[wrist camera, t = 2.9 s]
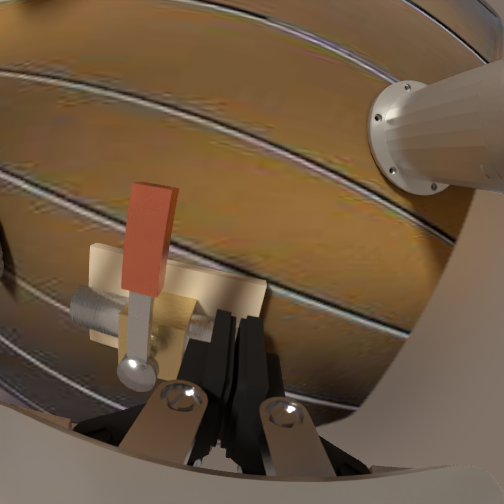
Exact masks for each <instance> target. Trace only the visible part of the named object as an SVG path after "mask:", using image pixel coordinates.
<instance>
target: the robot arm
mask: <svg viewBox="0 0 504 504" xmlns="http://www.w3.org/2000/svg"><path fill="white" fill-rule="evenodd" d="M375 117H376V118H377V121H376V120H375ZM367 133H368V142H369V146H370V149H371V153H372V155H373V157H374V160H375V162H376V164H377V166H378V167H379V169H380V170H381V172H382V173H383V174H384V175H385V177H386V178H387V179H388V180H389V181H390V182H391V183H393V184H394V185H395V186H397V187H398V188H400V189H402V190H404V191H406V192H408V193H412V194H417V195H433V194H436V193H439V192H441V191H443V190H444V189H446V188H447V187H448V186H449V185H456V186H463V187H469V188H475V189H481V190H486V191H493V192H497V193H503V194H504V59H501V60H498V61H495V62H492V63H489V64H486V65H483V66H480V67H477V68H474V69H471V70H468V71H466V72H463V73H460V74H457V75H455V76H452V77H449V78H447V79H444V80H441V81H439V82H436V83H433V84H431V85H426V84H424V83H421V82H417V81H401V82H397V83H394V84H392V85H390V86H388V87H387V88H386V89H384V90H383V91H382V92H380V94H379V95H378V96H377V97H376V99H375V100H374V102H373V104H372V106H371V108H370V112H369V116H368V124H367ZM389 169H391V173H390V172H389ZM231 313H232V312H229V311H224V310H219V309H217V312H216V317H215V322H214V327H213V332H212V337H211V341H210V342H206V341H201V340H197V339H192V338H189V341H188V344H187V347H186V350H185V353H184V356H183V359H182V362H181V366H180V369H179V372H178V375H177V378H176V380H169V381H166V382H163V383H161V384H160V385H159V386H158V387H157V388H156V389H155V391H154V393H153V394H152V396H151V397H150V399H149V400H148V402H147V403H145V404H142V405H138V406H135V407H132V408H128V409H125V410H121V411H118V412H114V413H111V414H107V415H103V416H100V417H96V418H92V419H88V420H85V421H82V422H80V423H78V424H74V423H71V420H70V419H67V418H63V417H58V416H54V415H50V414H46V413H43V412H39V411H35V410H32V409H28V408H25V407H21V406H18V405H14V404H8V403H5V402H2V401H0V504H504V491H503V489H502V488H501V487H500V485H499V484H498V483H497V481H496V480H495V479H494V478H493V476H492V475H491V474H490V473H488V472H487V471H485V470H484V469H481V468H478V467H474V466H467V465H439V466H429V467H422V468H397V467H384V466H371V467H370V468H367V466H366V465H364V464H363V463H362V462H361V461H359V460H357V459H356V458H354V457H352V456H350V455H349V454H347V453H346V452H344V451H342V450H341V449H339V448H338V447H336V446H334V445H333V444H331V443H330V442H328V441H326V440H325V439H323V438H322V437H320V436H319V435H318V434H317V431H316V429H315V427H314V424H313V422H312V420H311V418H310V415H309V413H308V411H307V410H306V408H305V407H304V406H302V405H301V404H300V403H298V402H297V401H295V400H292V399H289V398H286V397H285V392H284V386H283V380H282V374H281V367H280V361H279V356H278V355H277V354H271V353H266V351H265V341H264V331H263V320H262V318H260V317H255V316H249V315H247V317H246V319H245V318H241V319H240V323H239V327H238V332H237V336H236V340H235V334H236V319H237V317H235V316H231ZM222 421H223V422H222ZM221 424H222V433H221V448H225V449H226V458H231V459H232V460H233V461H234V462H235V463H237V464H238V466H237V473H233V472H225V471H217V470H211V469H205V468H199V467H195V464H196V460H198V459H200V458H202V457H204V456H206V455H208V454H209V452H210V448H211V446H213V447H216V443H217V439H218V436H219V432H220V428H221Z"/></svg>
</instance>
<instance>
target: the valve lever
mask: <svg viewBox="0 0 504 504" xmlns="http://www.w3.org/2000/svg"><path fill="white" fill-rule="evenodd" d="M178 192H179V188H175V187H170V186H164V185H159V184H153V183H148V182H136V183H132V189H131V195H130V202H129V209H128V216H127V224H126V233H125V242H124V252H123V264H122V278H121V289H124V290H128V291H129V306H128V332H127V353H126V354H125V355H124V357H123V359H122V360H121V362H120V364H119V365H118V367H117V374H118V377H119V379H120V380H121V382H122V383H123V384H124V385H126V386H127V387H128V388H130V389H132V390H135V391H139V392H145V391H149V390H150V389H152V388H153V386H154V384H155V381H156V379H157V377H158V374H159V365H158V362H157V361H156V359H155V358H154V357H153V356H152V355H150V347H151V333H152V320H153V309H154V298H157V297H158V295H159V294H160V292H161V291H162V289H163V288H164V282H165V274H166V267H167V259H168V252H169V246H170V239H171V233H172V226H173V220H174V214H175V209H176V203H177V197H178Z"/></svg>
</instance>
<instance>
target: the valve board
mask: <svg viewBox="0 0 504 504" xmlns="http://www.w3.org/2000/svg"><path fill="white" fill-rule="evenodd" d="M123 252H124V249H121V248H117V247H113V246H109V245H105V244H101V243H95V244H93V245H91V246H90V262H89V286H90V287H94V288H97V289H101V290H104V291H108V292H111V293H115V294H118V295H122V296H126V297H129V291H128V290H124V289H121V278H122V264H123ZM266 287H267V284H266V280H261V279H256V278H251V277H247V276H242V275H237V274H232V273H228V272H223V271H218V270H214V269H209V268H205V267H200V266H196V265H191V264H186V263H182V262H178V261H173V260H169V259H167V267H166V274H165V282H164V288H163V289H162V291H163V292H168V293H172V294H176V295H180V296H185V297H189V298H193V299H197V304H196V310H195V314H198V315H203V316H207V317H212V318H215V317H216V312H217V309H219V310H224V311H229V312H232V313H231V316H235V317H237V319H236V323H240V319H241V318H245V319H246V317H247V315H249V316H255V317H259V314H260V310H261V306H262V302H263V298H264V295H265V291H266ZM90 340H93V341H96V342H99V343H102V344H105V345H108V346H111V347H115V348H118V338H117V337H113V336H110V335H107V334H104V333H101V332H98V331H95V330H92V329H90Z"/></svg>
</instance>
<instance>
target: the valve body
mask: <svg viewBox="0 0 504 504" xmlns="http://www.w3.org/2000/svg"><path fill="white" fill-rule="evenodd" d="M196 304H197V299H193V298H189V297H185V296H180V295H176V294H172V293H168V292H163V291H161V292H160V294H159V295H158V297H157V298H154V309H153V320H152V333H151V347H150V355H152V356H153V357H154V358H155V359H156V361H157V362H158V365H159V374H158V377H157V378H160V379H164V380H168V381H169V380H176V378H177V375H178V372H179V369H180V366H181V362H182V359H183V356H184V353H185V350H186V347H187V344H188V341H189V338H192V339H197V340H201V341H206V342H210V341H211V337H212V332H213V327H214V322H215V318H212V317H207V316H203V315H198V314H195V310H196ZM128 306H129V297H126V296H122V295H118V294H115V293H111V292H108V291H104V290H101V289H97V288H94V287H90V286H87V285H80V286H79V287H78V288H77V289H76V291H75V293H74V295H73V297H72V301H71V305H70V316H71V320H72V322H73V323H75V324H77V325H80V326H83V327H86V328H89V329H92V330H95V331H98V332H101V333H104V334H107V335H110V336H113V337H117V338H118V361H119V364H120V362H121V360H122V359H123V357H124V355H125V354H126V353H127V332H128ZM238 327H239V323H236V334H235V340H236V336H237V332H238Z"/></svg>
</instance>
